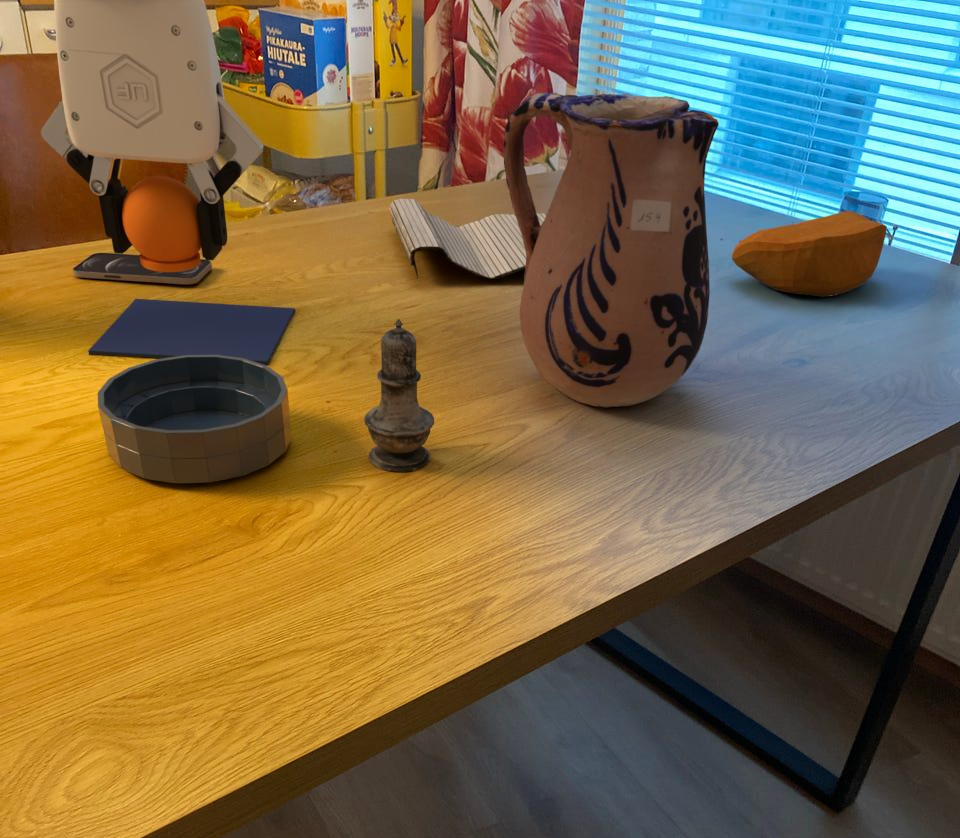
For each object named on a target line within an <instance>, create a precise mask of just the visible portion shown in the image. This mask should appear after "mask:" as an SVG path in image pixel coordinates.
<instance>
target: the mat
mask: <svg viewBox="0 0 960 838" xmlns="http://www.w3.org/2000/svg"><path fill="white" fill-rule="evenodd" d="M388 210H389V213H390V219H391V221H392V224H393V226H394V228H395V231H396V233H397V235H398V238H399V240H400V242H401V244H402V246H403V249H404V252H405V254H406V256H407V259H408V261H409V264H410V266H413V268H414V271H415V275H416V278H417V280H419V275H418V269H417V264H416V259H415V256H416V252H421V251H424V250H434V251H435V252H437V253H439V254H440V255H442V256H443V257H444V258H446V259H447V260H448V261H449V262H451V263H453V264H454V265H456V266H458V267H460V268H462V269H463V270H466V271H468V272H469V273H472V274H473V275H475V276H478V277H484V278H488V279H494V280H499V279H501V278H505V277H508V276H510V275H513V274H515V273H517V272H520V271H523V270H525V265H526V259H527V258H526V250H525V247H524V243H523V237H522V234H521V231H520V228H519V225H518V222H517V218H516V215H515V213H494V214H491V215H488V216H485V217H483V218H481V219H478V220H475V221H471V222H469V223H465V224H463V225H454V224H452V223H450V222H448V221H446V220H445V219H442V218H440V217H438V216H436V215H434V214H432V213H430V212H428V211H426V210H425V208H424V206H422V205H421V203H420V202H419V201H418V200H416V199H415V198H410V197H404V198H395V199H394V200H392V201H391V203H390V204H389V208H388ZM536 214H537V216H538V219H539V223H540V226H541V225H542V223H543V222H544V220H545V217H546V215H547V212H544V213H538V212H536Z"/></svg>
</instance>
